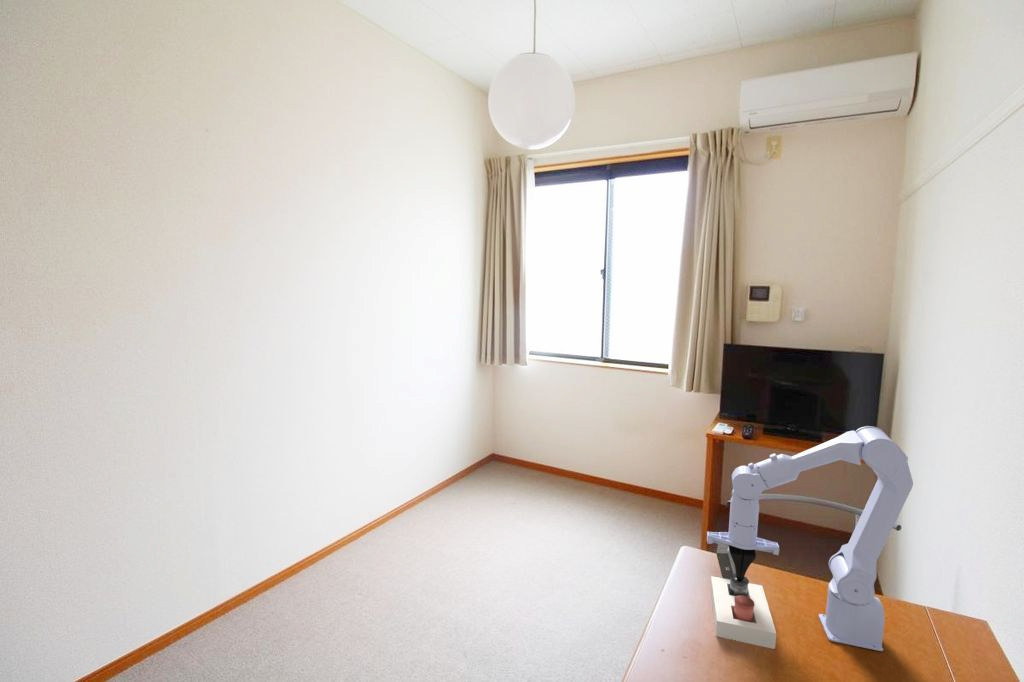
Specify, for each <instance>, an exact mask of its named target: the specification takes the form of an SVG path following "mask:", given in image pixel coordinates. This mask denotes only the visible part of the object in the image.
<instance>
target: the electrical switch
mask: <svg viewBox="0 0 1024 682" xmlns="http://www.w3.org/2000/svg"><path fill="white" fill-rule="evenodd" d="M715 555H716V559H717V561H718V565H719V569H720V575H721V578H724V579H729V580H730V576H731V575H732V574H736V571H735V565H734V562H733V559H732V557H731V554H730V551H729V546H728V545H723V544H717V548H716V554H715ZM726 568H727V570H726Z"/></svg>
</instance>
